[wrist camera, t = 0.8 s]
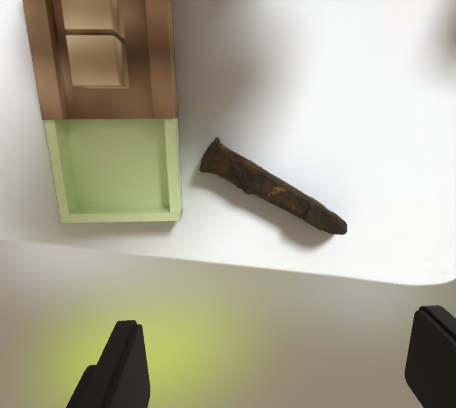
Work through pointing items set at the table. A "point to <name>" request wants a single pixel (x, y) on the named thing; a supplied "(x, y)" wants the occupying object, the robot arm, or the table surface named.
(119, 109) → the slot board
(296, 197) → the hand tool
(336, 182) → the table surface
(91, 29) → the light brown cube
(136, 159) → the tray
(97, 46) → the light brown wooden block
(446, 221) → the table surface
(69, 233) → the table surface
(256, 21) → the table surface
